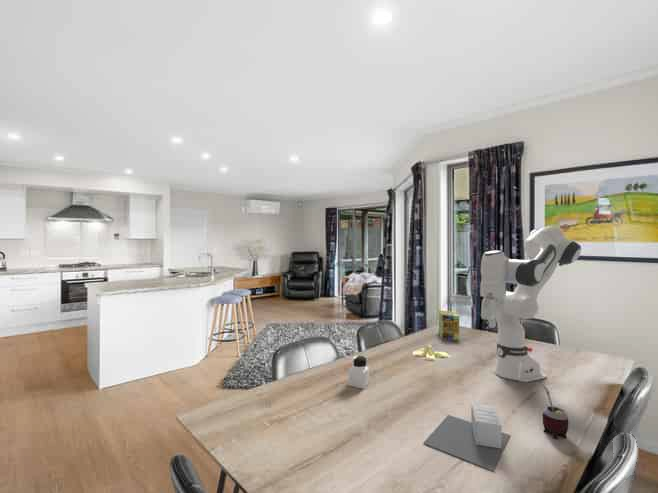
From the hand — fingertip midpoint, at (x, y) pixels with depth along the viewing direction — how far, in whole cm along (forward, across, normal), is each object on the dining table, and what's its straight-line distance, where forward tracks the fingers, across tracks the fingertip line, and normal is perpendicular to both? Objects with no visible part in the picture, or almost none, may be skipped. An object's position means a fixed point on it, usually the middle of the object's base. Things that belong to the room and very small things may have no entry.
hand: (492, 327), depth 133 cm
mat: (+29, -33, -1) cm, 44 cm away
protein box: (+29, +81, +45) cm, 97 cm away
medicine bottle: (+29, -20, +49) cm, 60 cm away
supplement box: (+25, -22, -2) cm, 33 cm away
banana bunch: (+30, +37, +41) cm, 63 cm away
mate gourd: (+29, -12, -22) cm, 38 cm away
